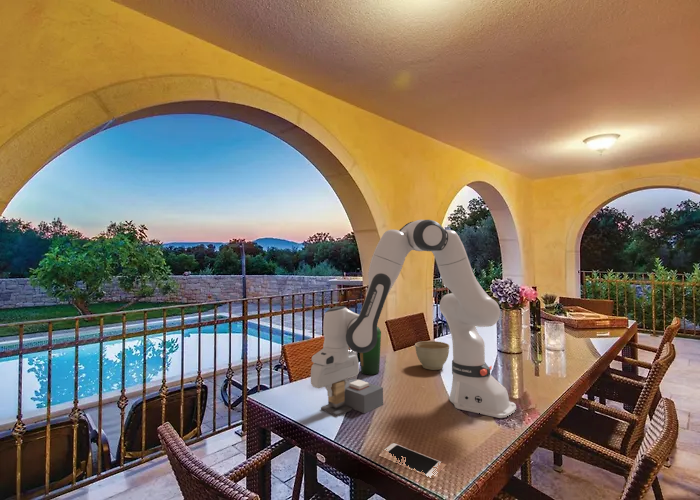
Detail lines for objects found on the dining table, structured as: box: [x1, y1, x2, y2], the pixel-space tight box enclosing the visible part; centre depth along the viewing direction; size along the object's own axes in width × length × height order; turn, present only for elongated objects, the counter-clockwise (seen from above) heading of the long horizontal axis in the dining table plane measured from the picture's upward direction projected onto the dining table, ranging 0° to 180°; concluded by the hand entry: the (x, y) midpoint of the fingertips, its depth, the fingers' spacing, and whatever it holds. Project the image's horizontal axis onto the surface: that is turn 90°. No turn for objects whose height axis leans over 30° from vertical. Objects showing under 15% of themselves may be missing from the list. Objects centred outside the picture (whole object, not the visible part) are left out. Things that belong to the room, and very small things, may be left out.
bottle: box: [359, 326, 382, 376], centre depth 161 cm, size 11×11×28 cm
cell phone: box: [383, 442, 442, 479], centre depth 90 cm, size 8×16×1 cm, turn 50°
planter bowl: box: [414, 340, 450, 371], centre depth 168 cm, size 16×16×11 cm
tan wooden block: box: [327, 380, 345, 408], centre depth 121 cm, size 4×4×8 cm
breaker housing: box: [344, 378, 384, 414], centre depth 126 cm, size 14×10×6 cm
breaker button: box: [349, 379, 370, 391], centre depth 126 cm, size 5×5×5 cm
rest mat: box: [320, 404, 353, 417], centre depth 121 cm, size 8×7×1 cm
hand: (336, 394), depth 121 cm, fingers closed on tan wooden block, 4 cm apart
